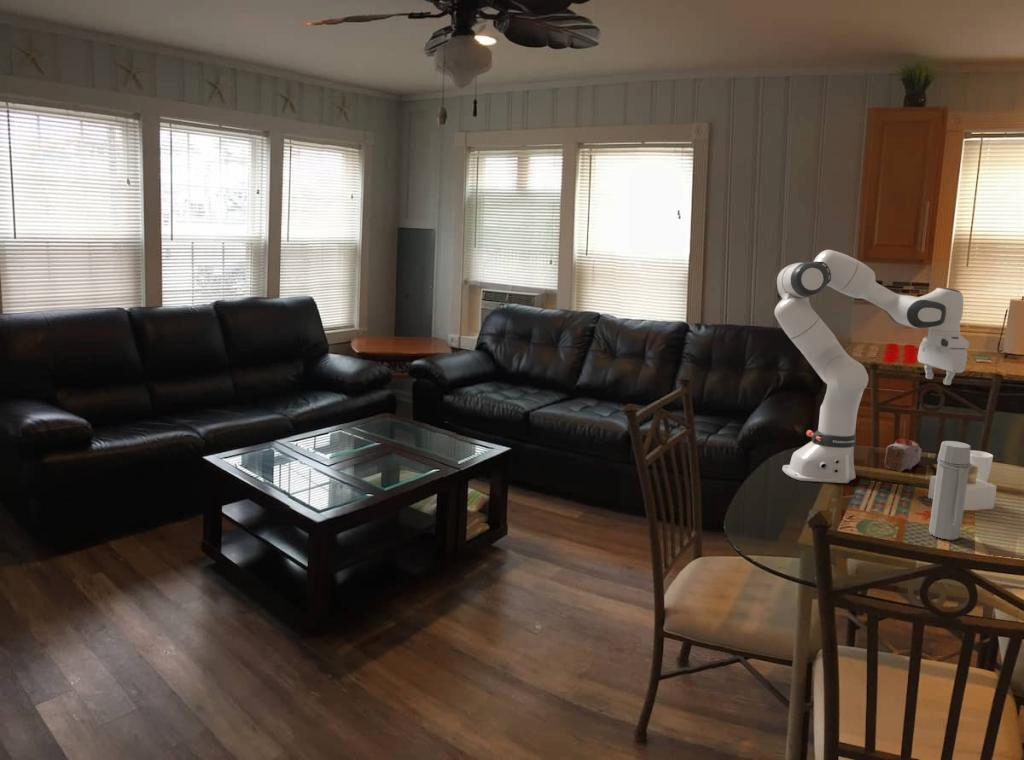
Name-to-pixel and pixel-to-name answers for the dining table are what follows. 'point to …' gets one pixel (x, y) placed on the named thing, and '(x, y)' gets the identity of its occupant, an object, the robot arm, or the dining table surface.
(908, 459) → the food item
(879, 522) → the dining table surface
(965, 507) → the white square block
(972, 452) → the white cup
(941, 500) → the water bottle
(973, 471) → the oak cube
